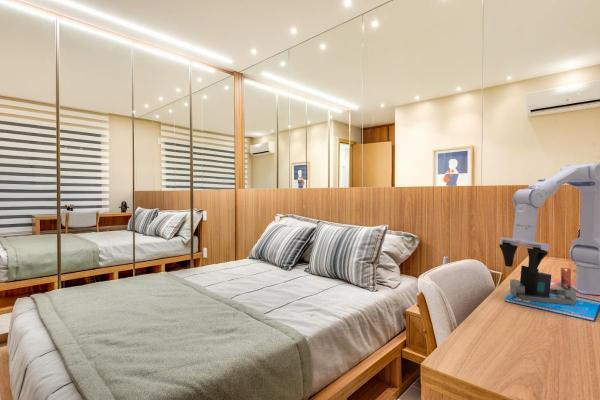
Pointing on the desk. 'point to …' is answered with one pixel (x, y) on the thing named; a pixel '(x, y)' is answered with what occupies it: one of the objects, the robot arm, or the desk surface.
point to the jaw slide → (565, 285)
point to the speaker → (535, 282)
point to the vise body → (519, 292)
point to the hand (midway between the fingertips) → (519, 269)
